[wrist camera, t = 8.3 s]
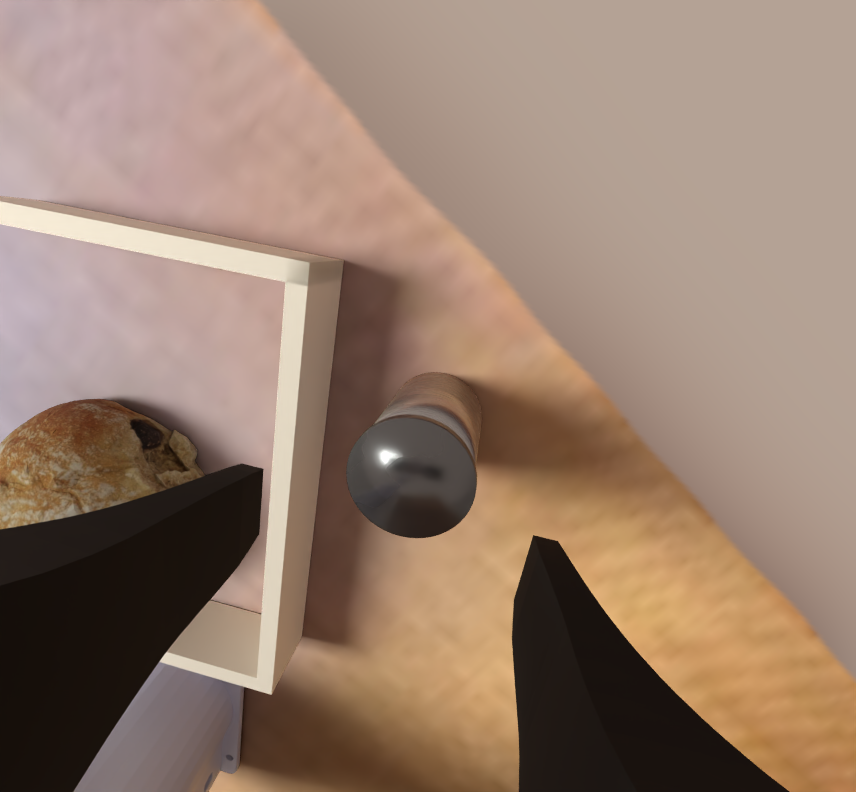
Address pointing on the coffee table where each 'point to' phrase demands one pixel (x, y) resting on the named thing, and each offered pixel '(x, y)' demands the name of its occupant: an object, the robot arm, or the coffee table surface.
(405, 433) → the grey tin
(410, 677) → the coffee table surface
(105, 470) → the bread roll
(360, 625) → the coffee table surface
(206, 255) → the cream low open frame
